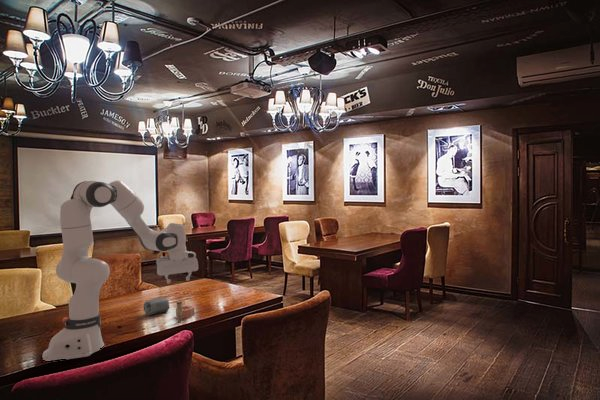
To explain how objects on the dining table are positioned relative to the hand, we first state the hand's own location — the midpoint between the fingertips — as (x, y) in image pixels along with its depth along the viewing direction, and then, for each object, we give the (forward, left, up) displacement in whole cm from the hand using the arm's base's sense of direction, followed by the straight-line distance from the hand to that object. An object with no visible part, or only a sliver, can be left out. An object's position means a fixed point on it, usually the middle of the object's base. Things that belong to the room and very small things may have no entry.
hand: (178, 281), depth 201 cm
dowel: (0, -1, -20) cm, 20 cm away
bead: (+5, +7, -20) cm, 22 cm away
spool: (-7, +20, -20) cm, 30 cm away
